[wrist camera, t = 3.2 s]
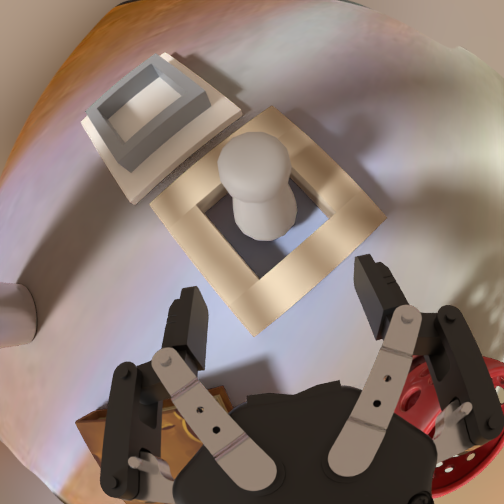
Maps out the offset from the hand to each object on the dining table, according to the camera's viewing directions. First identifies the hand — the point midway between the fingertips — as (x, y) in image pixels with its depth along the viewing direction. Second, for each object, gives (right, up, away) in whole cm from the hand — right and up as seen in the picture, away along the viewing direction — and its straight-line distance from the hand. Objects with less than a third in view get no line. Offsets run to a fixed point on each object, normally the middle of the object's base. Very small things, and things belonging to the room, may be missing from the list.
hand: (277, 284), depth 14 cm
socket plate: (-14, +19, +17) cm, 29 cm away
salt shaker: (0, +5, +14) cm, 15 cm away
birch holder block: (0, +5, +14) cm, 14 cm away
